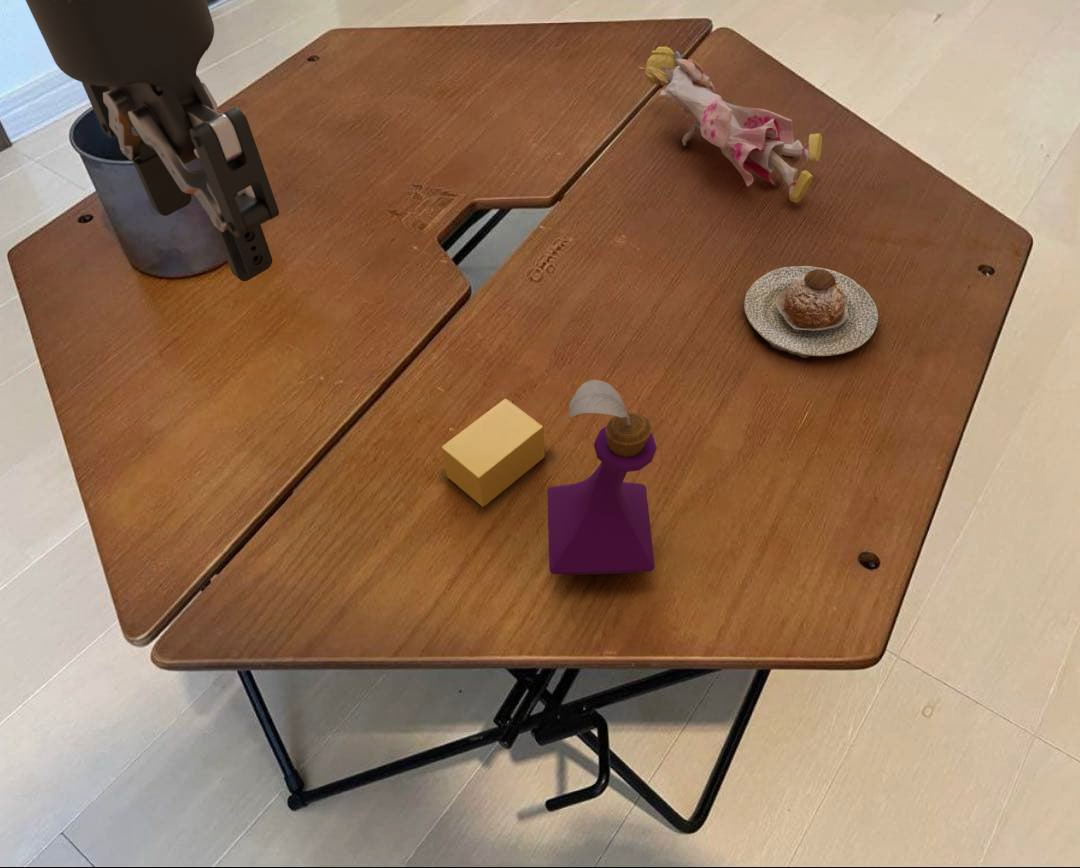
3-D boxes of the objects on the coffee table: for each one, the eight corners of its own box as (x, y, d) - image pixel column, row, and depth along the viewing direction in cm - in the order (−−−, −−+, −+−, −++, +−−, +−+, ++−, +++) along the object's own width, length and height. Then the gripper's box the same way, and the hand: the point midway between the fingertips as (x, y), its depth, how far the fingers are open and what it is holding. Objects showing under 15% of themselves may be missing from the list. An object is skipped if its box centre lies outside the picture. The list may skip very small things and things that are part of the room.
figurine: (765, 245, 96) (620, 114, 107) (848, 181, 97) (697, 57, 107) (768, 175, 85) (607, 36, 96) (863, 103, 86) (693, -27, 96)
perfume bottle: (643, 508, 71) (659, 348, 57) (652, 592, 66) (672, 440, 52) (548, 511, 71) (541, 351, 57) (550, 595, 67) (543, 444, 53)
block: (483, 507, 72) (478, 478, 69) (446, 476, 74) (440, 446, 71) (545, 456, 75) (543, 426, 72) (508, 428, 77) (505, 397, 74)
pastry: (889, 362, 80) (904, 324, 76) (753, 366, 80) (762, 329, 77) (857, 272, 88) (869, 234, 84) (733, 276, 88) (740, 238, 84)
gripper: (-50, -69, 42) (95, 217, 54) (99, 33, 35) (225, 331, 48) (98, -119, 45) (203, 162, 58) (260, -34, 38) (339, 262, 51)
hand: (213, 238), depth 53 cm, fingers open, 8 cm apart
